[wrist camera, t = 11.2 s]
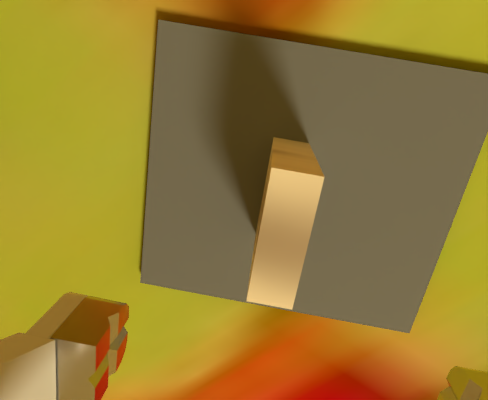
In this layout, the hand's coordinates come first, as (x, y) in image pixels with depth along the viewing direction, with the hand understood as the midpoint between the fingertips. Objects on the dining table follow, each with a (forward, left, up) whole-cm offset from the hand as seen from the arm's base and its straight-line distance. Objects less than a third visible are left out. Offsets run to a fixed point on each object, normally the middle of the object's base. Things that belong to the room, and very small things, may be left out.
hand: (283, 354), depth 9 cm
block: (0, 0, -13) cm, 13 cm away
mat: (0, -1, -13) cm, 13 cm away
